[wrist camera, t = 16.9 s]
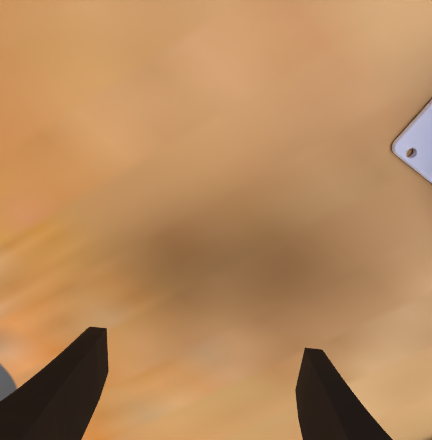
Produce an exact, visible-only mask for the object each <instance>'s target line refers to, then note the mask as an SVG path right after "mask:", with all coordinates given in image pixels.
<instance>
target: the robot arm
mask: <svg viewBox="0 0 432 440" xmlns="http://www.w3.org/2000/svg"><path fill="white" fill-rule="evenodd" d="M410 148H413V154H412V155H411V156H408V157H407V156H406V153H407V151H408V150H409V149H410ZM392 151H393V153H394V154H395V155H396V156H398V157H399V158H400V159H402V160H403V161H404V162H405V163H407V164H408V165H409V166H410V167H412V168H413V169H414V170H415V171H417V172H418V173H419V174H420V175H422V176H423V177H424V178H425V179H427V180H428V181H429V182H430V183H432V100H431V101H430V102H429V103H428V104H427V105H426V107H425V108H424V109H423V110H422V111H421V112H420V113H419V114H418V115H417V117H416V118H415V119H414V120H413V121H412V122H411V123H410V124H409V125H408V127H407V128H406V129H405V130H404V131H403V132H402V133H401V134H400V135H399V137H398V138H397V139H396V140H395V141H394V143H393V144H392ZM107 374H108V351H107V328H97V327H89V328H88V329H86V330H85V331H84V332H83V333H82V334H81V335H80V336H79V337H78V338H77V339H76V340H75V341H74V342H72V343H71V344H70V345H69V346H68V347H67V348H66V349H65V350H64V351H63V352H62V353H60V354H59V355H58V356H57V357H56V358H55V359H54V360H52V361H51V362H50V363H49V364H48V365H47V366H46V367H44V368H43V369H42V370H41V371H40V372H38V373H37V374H36V375H35V376H33V377H32V378H31V379H30V380H28V381H27V382H26V383H25V384H23V385H22V386H21V387H20V388H18V389H17V390H16V391H14V392H13V393H12V394H10V395H9V396H8V397H6V398H5V399H3V400H2V401H0V440H81V439H82V437H83V435H84V432H85V430H86V428H87V426H88V424H89V422H90V419H91V417H92V415H93V413H94V410H95V408H96V406H97V404H98V401H99V399H100V396H101V393H102V390H103V387H104V384H105V381H106V377H107ZM295 391H296V401H297V410H298V418H299V423H300V428H301V433H302V437H303V440H393V439H392V438H391V437H390V436H389V435H388V434H387V433H386V432H385V431H384V430H383V429H382V427H381V426H380V425H379V424H378V423H377V422H376V420H375V419H374V418H373V417H372V416H371V415H370V413H369V412H368V411H367V410H366V408H365V407H364V406H363V405H362V404H361V402H360V401H359V400H358V398H357V397H356V396H355V394H354V393H353V392H352V391H351V389H350V388H349V387H348V385H347V384H346V383H345V381H344V380H343V378H342V377H341V376H340V374H339V373H338V371H337V370H336V369H335V367H334V366H333V364H332V363H331V361H330V360H329V359H328V357H327V356H326V354H325V353H324V352H323V350H321V349H311V348H305V350H304V355H303V359H302V363H301V368H300V372H299V377H298V381H297V385H296V390H295Z"/></svg>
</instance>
